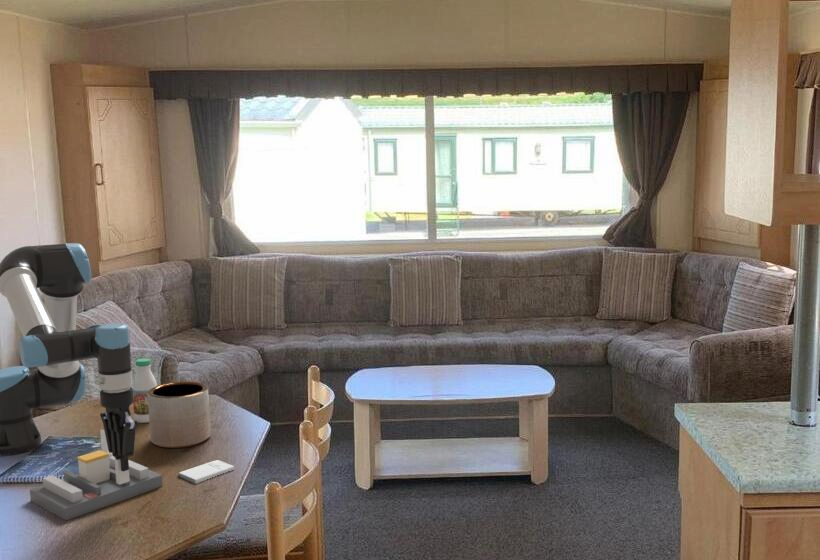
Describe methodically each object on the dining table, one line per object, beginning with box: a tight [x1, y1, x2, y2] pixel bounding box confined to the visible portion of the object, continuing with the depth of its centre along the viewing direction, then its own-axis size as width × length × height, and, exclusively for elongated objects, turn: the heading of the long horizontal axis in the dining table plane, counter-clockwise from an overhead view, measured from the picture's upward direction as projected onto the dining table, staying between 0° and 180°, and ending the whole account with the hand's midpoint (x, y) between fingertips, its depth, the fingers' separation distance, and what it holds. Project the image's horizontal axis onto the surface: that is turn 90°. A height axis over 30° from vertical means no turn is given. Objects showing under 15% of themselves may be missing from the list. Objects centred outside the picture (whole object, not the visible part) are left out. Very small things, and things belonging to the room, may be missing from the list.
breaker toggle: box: [77, 449, 110, 484], centre depth 211 cm, size 4×6×7 cm
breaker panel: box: [29, 456, 163, 521], centre depth 211 cm, size 18×26×5 cm
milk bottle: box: [132, 358, 158, 424], centre depth 268 cm, size 8×8×20 cm
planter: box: [148, 381, 212, 449], centre depth 249 cm, size 18×18×16 cm
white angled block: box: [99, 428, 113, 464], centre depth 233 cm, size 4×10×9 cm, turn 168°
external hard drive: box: [177, 459, 235, 484], centre depth 223 cm, size 2×8×12 cm
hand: (123, 482), depth 202 cm, fingers closed
